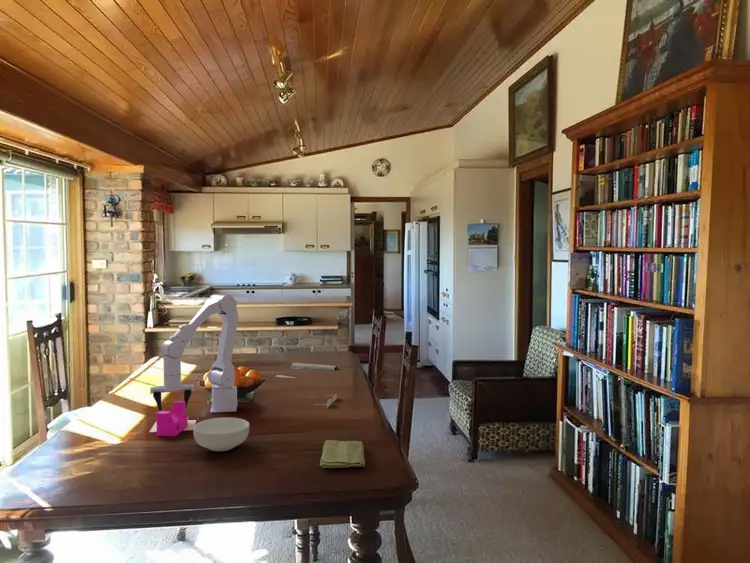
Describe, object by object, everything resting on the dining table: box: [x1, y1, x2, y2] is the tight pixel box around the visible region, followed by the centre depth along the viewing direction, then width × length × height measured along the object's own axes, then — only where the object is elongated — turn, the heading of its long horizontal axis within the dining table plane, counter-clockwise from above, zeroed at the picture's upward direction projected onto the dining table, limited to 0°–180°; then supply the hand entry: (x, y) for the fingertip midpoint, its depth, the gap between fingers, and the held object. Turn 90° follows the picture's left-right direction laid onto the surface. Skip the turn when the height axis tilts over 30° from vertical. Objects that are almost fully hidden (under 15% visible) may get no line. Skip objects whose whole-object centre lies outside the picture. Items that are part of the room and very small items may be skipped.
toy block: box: [155, 400, 189, 437], centre depth 192 cm, size 15×6×8 cm, turn 176°
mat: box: [275, 362, 338, 379], centre depth 270 cm, size 23×24×5 cm
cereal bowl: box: [192, 416, 250, 452], centre depth 175 cm, size 17×17×7 cm
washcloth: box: [319, 439, 366, 469], centre depth 167 cm, size 13×18×3 cm
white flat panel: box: [149, 420, 197, 433], centre depth 200 cm, size 14×20×1 cm
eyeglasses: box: [308, 393, 338, 409], centre depth 222 cm, size 14×8×4 cm, turn 167°
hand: (172, 412), depth 200 cm, fingers open, 7 cm apart
